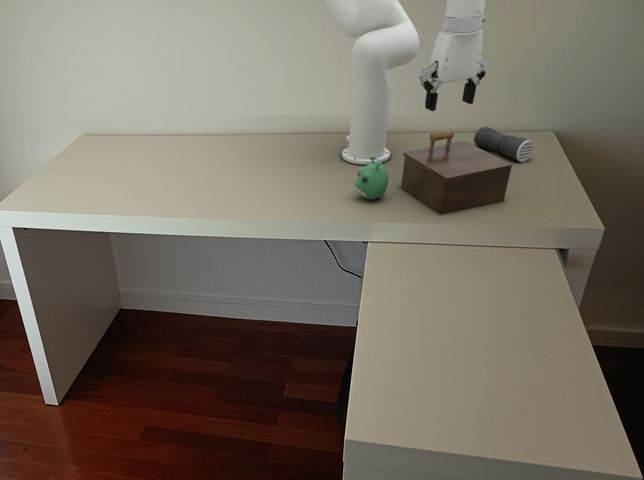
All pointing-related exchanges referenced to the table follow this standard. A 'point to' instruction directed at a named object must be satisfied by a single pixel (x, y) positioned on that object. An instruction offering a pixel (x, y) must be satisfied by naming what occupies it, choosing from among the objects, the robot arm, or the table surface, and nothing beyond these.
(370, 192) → the alien toy
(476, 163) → the lid
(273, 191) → the table surface
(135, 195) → the table surface
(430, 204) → the chest
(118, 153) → the table surface
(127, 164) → the table surface
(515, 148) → the flashlight
